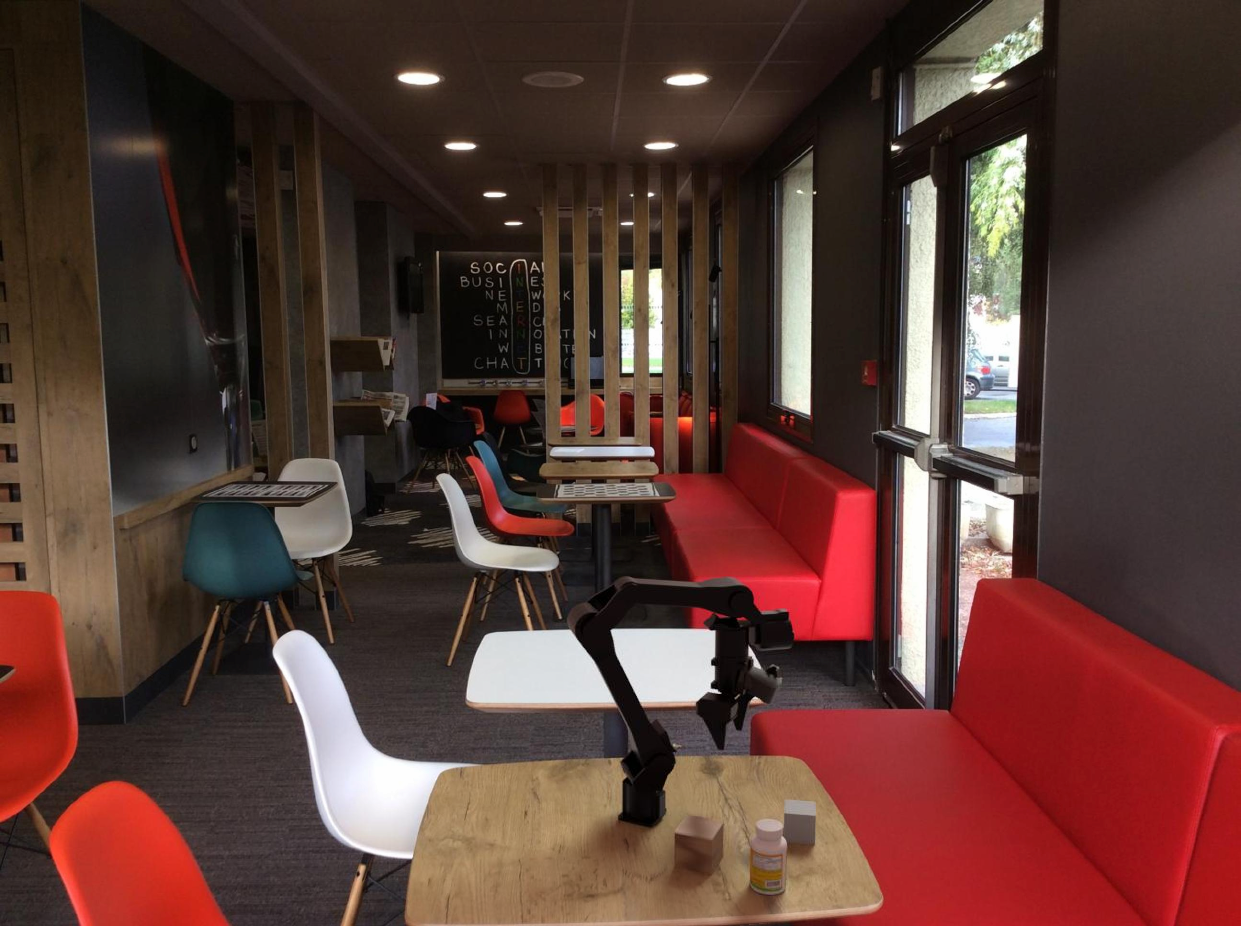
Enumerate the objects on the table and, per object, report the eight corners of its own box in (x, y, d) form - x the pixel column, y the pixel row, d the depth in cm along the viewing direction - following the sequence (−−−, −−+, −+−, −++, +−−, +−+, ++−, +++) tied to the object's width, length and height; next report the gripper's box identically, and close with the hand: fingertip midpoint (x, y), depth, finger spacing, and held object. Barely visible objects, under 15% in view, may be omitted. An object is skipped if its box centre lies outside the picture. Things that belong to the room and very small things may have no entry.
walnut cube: (687, 814, 165) (686, 849, 166) (674, 830, 160) (674, 867, 161) (723, 821, 163) (723, 856, 164) (712, 838, 158) (711, 875, 158)
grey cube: (783, 842, 169) (784, 812, 168) (784, 827, 173) (785, 799, 173) (814, 844, 168) (815, 815, 167) (815, 830, 173) (815, 801, 172)
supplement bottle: (762, 872, 159) (763, 812, 158) (792, 884, 156) (794, 823, 154) (742, 887, 155) (744, 825, 154) (774, 899, 152) (775, 837, 150)
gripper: (760, 676, 165) (758, 769, 168) (793, 643, 182) (791, 728, 184) (694, 666, 170) (693, 756, 172) (732, 635, 187) (731, 718, 189)
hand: (730, 739), depth 179 cm, fingers open, 9 cm apart
